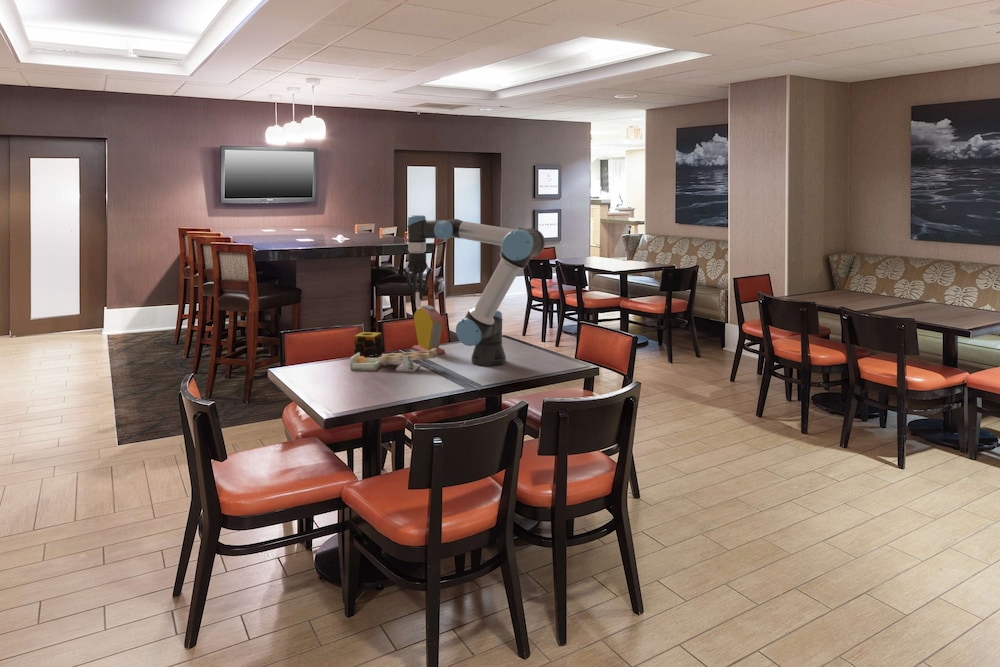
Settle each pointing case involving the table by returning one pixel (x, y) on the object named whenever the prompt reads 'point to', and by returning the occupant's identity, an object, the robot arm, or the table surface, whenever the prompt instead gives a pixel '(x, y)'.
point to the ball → (361, 359)
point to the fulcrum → (407, 365)
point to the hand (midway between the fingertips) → (418, 306)
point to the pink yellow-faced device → (428, 329)
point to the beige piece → (412, 355)
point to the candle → (368, 344)
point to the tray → (368, 365)
